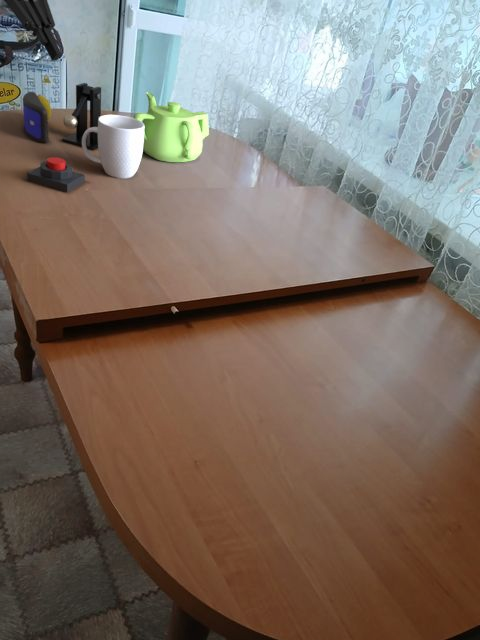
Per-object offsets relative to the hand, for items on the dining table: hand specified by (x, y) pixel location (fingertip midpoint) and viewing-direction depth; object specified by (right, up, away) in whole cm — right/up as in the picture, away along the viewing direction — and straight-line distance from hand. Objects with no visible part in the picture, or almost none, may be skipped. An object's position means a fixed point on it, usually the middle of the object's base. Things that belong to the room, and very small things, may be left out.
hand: (56, 57), depth 135 cm
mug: (+13, -27, +5) cm, 31 cm away
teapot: (+23, -15, +25) cm, 37 cm away
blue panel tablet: (-11, -13, +16) cm, 24 cm away
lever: (+2, -9, +11) cm, 14 cm away
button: (+3, -30, -9) cm, 32 cm away
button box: (+2, -33, -6) cm, 34 cm away
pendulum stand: (+2, -14, +19) cm, 24 cm away
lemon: (-14, -7, +24) cm, 28 cm away
